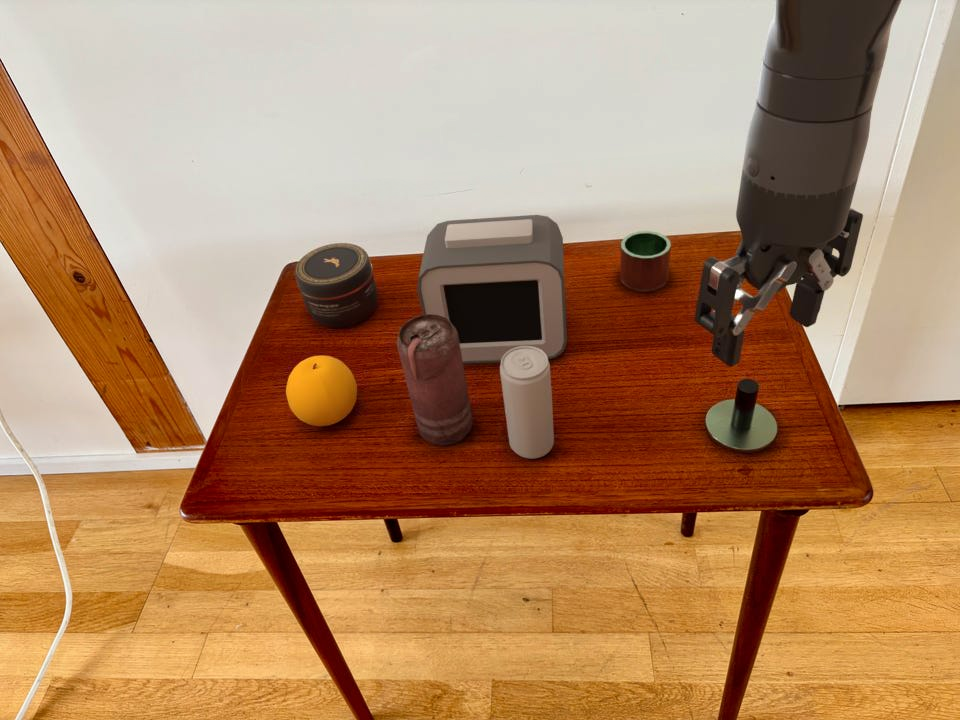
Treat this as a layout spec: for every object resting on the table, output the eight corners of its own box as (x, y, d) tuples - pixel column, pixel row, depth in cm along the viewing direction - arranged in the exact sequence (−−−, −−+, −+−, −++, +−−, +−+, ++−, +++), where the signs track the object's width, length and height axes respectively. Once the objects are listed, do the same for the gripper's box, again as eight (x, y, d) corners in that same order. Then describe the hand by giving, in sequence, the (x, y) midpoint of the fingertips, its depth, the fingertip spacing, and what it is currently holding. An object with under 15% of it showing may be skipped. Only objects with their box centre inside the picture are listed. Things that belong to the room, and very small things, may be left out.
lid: (750, 398, 77) (759, 353, 73) (790, 443, 72) (802, 398, 67) (691, 417, 76) (697, 372, 71) (728, 464, 71) (736, 419, 66)
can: (410, 445, 77) (384, 349, 68) (430, 404, 82) (408, 308, 73) (462, 453, 76) (443, 356, 66) (480, 411, 80) (464, 314, 71)
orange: (295, 396, 85) (276, 349, 80) (359, 381, 86) (345, 334, 81) (296, 444, 80) (276, 397, 75) (365, 428, 80) (350, 380, 75)
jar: (327, 284, 102) (313, 239, 97) (391, 289, 100) (380, 243, 94) (296, 328, 95) (279, 282, 90) (364, 335, 93) (350, 288, 88)
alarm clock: (433, 365, 87) (410, 258, 76) (442, 307, 95) (423, 204, 85) (567, 359, 85) (563, 249, 74) (565, 301, 93) (560, 195, 83)
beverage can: (543, 421, 78) (536, 338, 70) (562, 452, 74) (558, 368, 66) (502, 436, 77) (491, 354, 69) (520, 468, 73) (510, 385, 65)
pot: (654, 260, 98) (656, 226, 94) (676, 284, 93) (679, 249, 89) (612, 272, 97) (613, 238, 93) (633, 297, 92) (634, 262, 89)
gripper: (764, 221, 45) (732, 401, 55) (920, 150, 49) (862, 330, 60) (683, 177, 50) (668, 349, 61) (830, 116, 54) (792, 288, 65)
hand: (764, 340), depth 60 cm, fingers open, 8 cm apart
